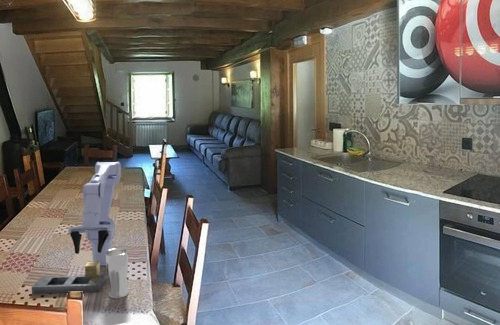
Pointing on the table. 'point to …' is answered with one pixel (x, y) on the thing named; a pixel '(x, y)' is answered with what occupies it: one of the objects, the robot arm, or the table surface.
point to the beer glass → (117, 272)
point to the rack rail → (68, 284)
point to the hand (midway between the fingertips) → (88, 252)
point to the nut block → (92, 268)
